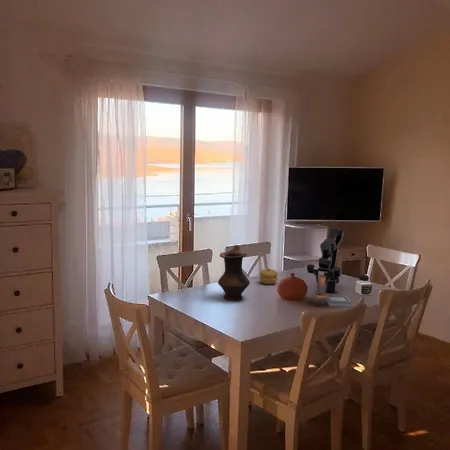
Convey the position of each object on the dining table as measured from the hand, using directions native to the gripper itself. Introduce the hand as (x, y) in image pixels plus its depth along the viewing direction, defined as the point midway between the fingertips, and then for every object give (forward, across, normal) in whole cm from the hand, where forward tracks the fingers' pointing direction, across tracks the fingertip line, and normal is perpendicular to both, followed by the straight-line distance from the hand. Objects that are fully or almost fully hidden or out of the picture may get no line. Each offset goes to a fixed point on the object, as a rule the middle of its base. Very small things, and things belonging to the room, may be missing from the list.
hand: (321, 283), depth 279 cm
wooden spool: (+5, 0, +7) cm, 8 cm away
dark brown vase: (+14, -49, +5) cm, 52 cm away
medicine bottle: (-17, +19, +37) cm, 45 cm away
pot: (-14, -40, +34) cm, 54 cm away
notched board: (+2, +8, +17) cm, 19 cm away
